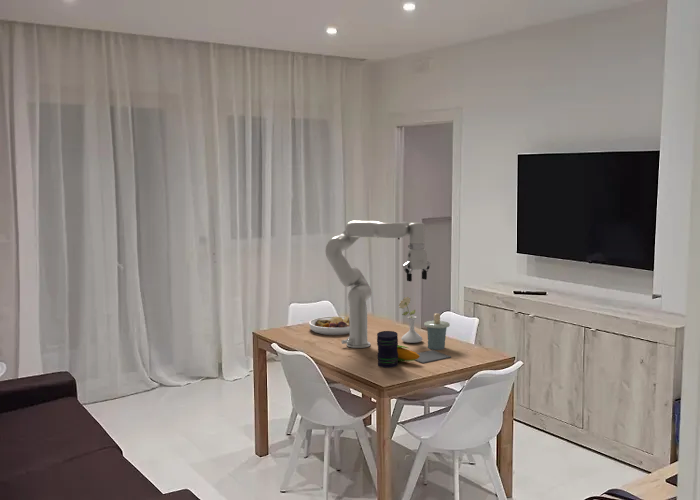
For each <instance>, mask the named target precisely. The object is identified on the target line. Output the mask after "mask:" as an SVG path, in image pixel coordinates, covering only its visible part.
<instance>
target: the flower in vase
mask: <svg viewBox="0 0 700 500" xmlns="http://www.w3.org/2000/svg"><path fill="white" fill-rule="evenodd" d="M410 303H411V297H409V296H406V297H404V298H403V299H402V300H400V302H399V303H398V306H399V309H405V308H406V309H407V311H405V312H403V313H402V314H401V315H402V316H407V319H408V321H409V330H408V331H407V332H406V333H405V334H403V335H402V336H401V341H402V342H404V343H408V344H416V343H420V342H422V341H423V337H422V336H421V335H420V334H419V333H418V332H417V331H416V330H415V321H416V319H417V316H416V315H414V314H416V309H413V310H411V311H409V307H408V306H409V305H410Z"/></svg>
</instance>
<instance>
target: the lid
mask: <svg viewBox="0 0 700 500" xmlns="http://www.w3.org/2000/svg"><path fill="white" fill-rule="evenodd" d="M423 323H424V324H423V325H424V327H426V328H427V327H429V328H449V327H450V322H448V321H443V320H441V314H440V313H437V312H435V313H433V320H428V321H425V322H423Z"/></svg>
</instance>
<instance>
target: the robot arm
mask: <svg viewBox="0 0 700 500" xmlns="http://www.w3.org/2000/svg"><path fill="white" fill-rule="evenodd" d="M425 230H426V229H425V223H424V222H419V221H418V222H409V221H400V222H381V221H378V220H360V219H355V220H351V221H349V222H347V224H346V225H345V230H344V231H343V232H342V233H341V234H338V235H336V236H333V237H331V238H330V239H329V240H328V242H327V243H326V246H325V256H326V259H327V261H328V262H329V265H330V266H331V267H332V270H333V271H334V273H335V275H336V276H337V279H339V281H340V283H341V285H342V286H345V287H349V288H351V289H350V290H349V292H348V295H347V302H348V317H349V334H348V335H349V336H347V338H346V339H342V340H341V344H342V345H344V344H346V346H347V347H348V348H351V349H352V348H353V349H364V348H365V349H366V348H369V347H370V346H371V342H370V341H368V306H367V301H368V300H369V299H371V297H372V288H371V287H370V284H369V283H368V282H367V280H366V278H365V276H364V275H363V273H362V271H361V270H360V269H359V268H358V267H356V266H351V265H350V263H349V261H348V260H347V258H346V257H345V256H344V255H343V253H342V252H344V251H346V250H348V249H349V248H350V247H352V246H353V245H354V244H355V243H356V242H357V241H358V240H359V239H360V238H377V239H378V238H385V239H389V238H392V239H400V238H403V237H407V236H409V245H408V246H407V247H408V252H407V260H406V262H405V263H404V264H402V267H403V271H404V272H405V273H406V281H407V282H412V281H413V278H412V277H413V274H412V272H413V271H415V270H416V271H417V270H422V271H421V279H422V280H427V279H428V276H427V275H428V272H429V269H430V267H431V265H432V263H431V261H429V260H428V253H427V249H425Z"/></svg>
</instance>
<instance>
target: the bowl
mask: <svg viewBox="0 0 700 500" xmlns="http://www.w3.org/2000/svg"><path fill="white" fill-rule="evenodd" d="M308 325H309V328H310V330H311V331H312V332H314V333H316V334H319V335H325V336H340V335H341V336H343V335H349V316H337V315H336V316H322V317H317V318H314V319H311V320H309V324H308Z"/></svg>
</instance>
